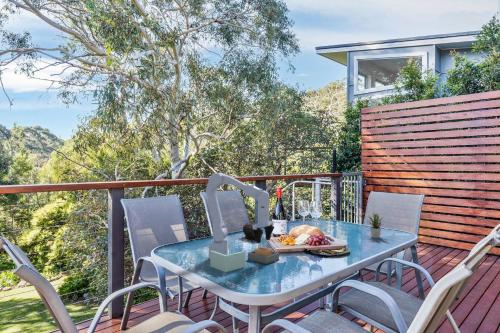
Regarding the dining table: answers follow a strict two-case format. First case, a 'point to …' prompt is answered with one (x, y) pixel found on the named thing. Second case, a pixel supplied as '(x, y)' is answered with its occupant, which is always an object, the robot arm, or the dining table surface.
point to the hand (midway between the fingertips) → (263, 241)
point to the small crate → (263, 251)
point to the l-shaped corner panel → (227, 261)
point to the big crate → (263, 257)
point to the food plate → (332, 251)
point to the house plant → (375, 226)
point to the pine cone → (249, 231)
